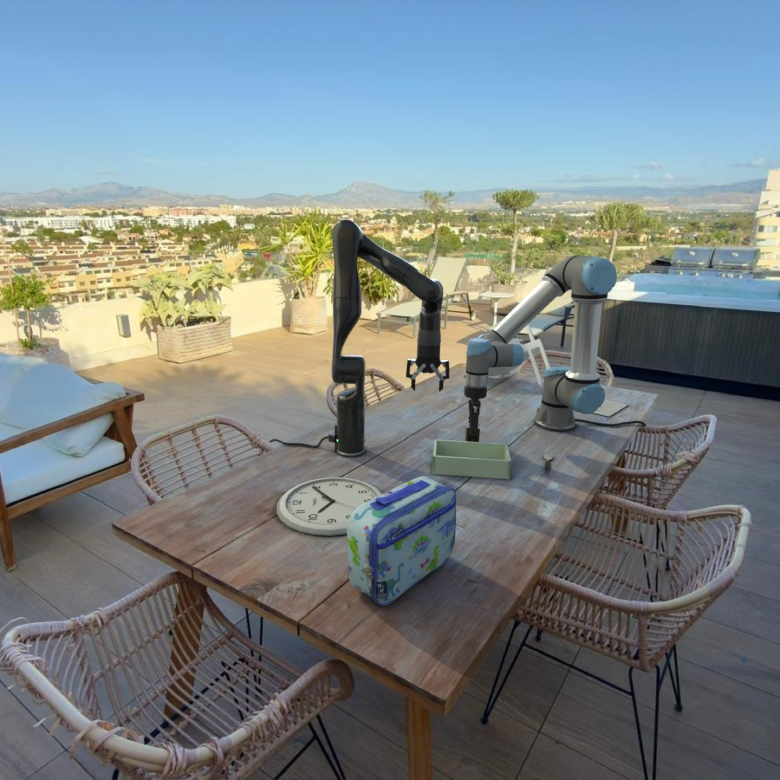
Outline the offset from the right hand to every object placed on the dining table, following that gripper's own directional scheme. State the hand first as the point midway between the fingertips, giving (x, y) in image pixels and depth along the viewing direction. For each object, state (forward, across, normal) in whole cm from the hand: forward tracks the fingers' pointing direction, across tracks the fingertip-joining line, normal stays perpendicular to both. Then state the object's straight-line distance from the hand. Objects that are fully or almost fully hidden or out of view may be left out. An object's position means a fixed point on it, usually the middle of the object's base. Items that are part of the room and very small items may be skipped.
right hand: (471, 446), depth 182 cm
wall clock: (0, +46, -39) cm, 60 cm away
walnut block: (0, 0, 0) cm, 0 cm away
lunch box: (0, +74, -17) cm, 76 cm away
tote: (0, +16, -1) cm, 16 cm away
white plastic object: (0, -80, +20) cm, 83 cm away
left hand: (-21, +4, -16) cm, 27 cm away
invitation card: (0, -53, +57) cm, 78 cm away
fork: (0, +10, +24) cm, 26 cm away
